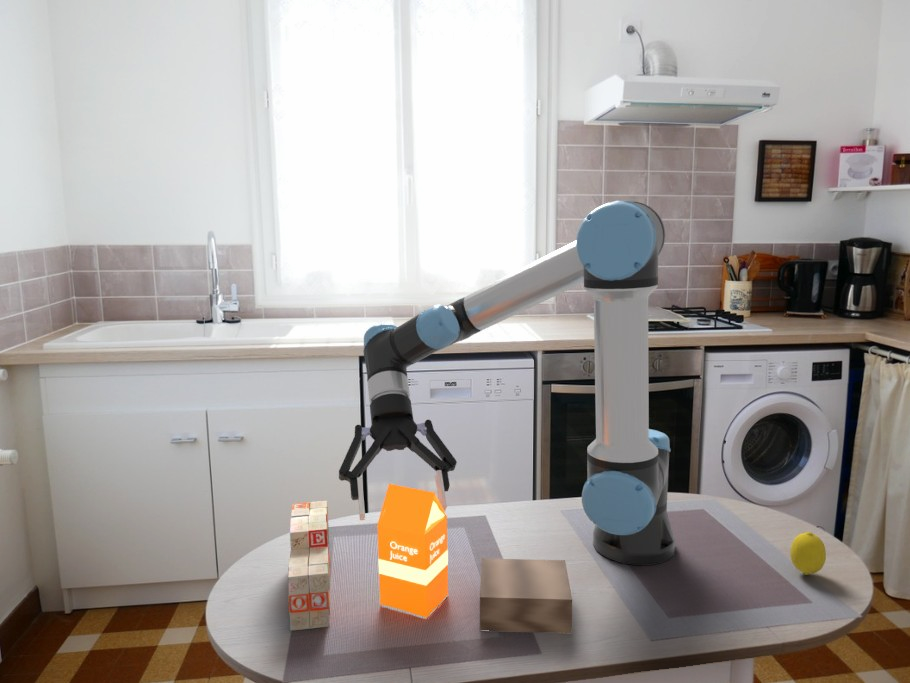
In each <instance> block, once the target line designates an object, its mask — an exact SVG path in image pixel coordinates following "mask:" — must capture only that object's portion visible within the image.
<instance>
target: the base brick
mask: <svg viewBox="0 0 910 683" xmlns="http://www.w3.org/2000/svg"><path fill="white" fill-rule="evenodd" d="M566 562H567V561H566V560H564V559H527V558H525V559H524V558H522V559H521V558H481V563H480V564H481V568H480V585H479V589H480V590H479V631H480V630H489V631H488V632H496V631H497V632H498V633H500V632H501V633H502V632H504V633H505V632H506V633H538V634H539V633H540V634H542V633H543V634H544V633H545V634H572V633H573V632H572V628H573V595H572V590H571V585H570V584H571V583H570V580H569V574H568V569H567V563H566Z"/></svg>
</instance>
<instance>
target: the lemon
mask: <svg viewBox="0 0 910 683" xmlns="http://www.w3.org/2000/svg"><path fill="white" fill-rule="evenodd" d="M789 551H790V552H789V553H790V554H789V555H790V560H791V562H792V564H793V566H794V567H795V568H796V569H797V570H798V571H799V572H802V573H803V574H804V575H805V576H809V575H810V574H815V573H817V572H819V571H822V570H821V569H822V568H823V567H824V566H825V564H826V559H827V553H826V551H827V550H826V547H825V543H824V542H823V540H822V539H821V538H820V537H819V536H818V535H816V534H814V533H813V532H811V531H807V532H803V533H799V534H798V535H796V536H795V537H794V538H793V540H792V542H791V546H790V550H789Z"/></svg>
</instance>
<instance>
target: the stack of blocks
mask: <svg viewBox="0 0 910 683" xmlns="http://www.w3.org/2000/svg"><path fill="white" fill-rule="evenodd" d="M328 509H329V508H328V500H318V501H310V502H309V501H307V502H297V503H292V507H291V514H290V520H289V521H290V523H289V524H290V525H289V529H290V530H289V538H290V539H289V542H290V543H289V544H290V552H289V553H290V556H289V558H288V566H287V567H288V568H287V570H288V576H287V580H288V596H287V597H288V610H289V611H288V612H289V613H288V614H289V626H290V627H289V628H290V631H302V630H310V629H319V628H320V629H321V628H328V627H330V616H331V591H330V588H331V586H330V582H331V580H330V579H331V547H330V534H329V532H330V531H329V513H328V512H329V511H328Z"/></svg>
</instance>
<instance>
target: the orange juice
mask: <svg viewBox="0 0 910 683" xmlns="http://www.w3.org/2000/svg"><path fill="white" fill-rule="evenodd" d="M380 511H381V512H380V515H379V518H378V521H377V524H376V525H377V548H378V550H377V552H378V558H377V560H378V563H377V564H378V578H379V600H380V601H379V604H382V605H386V606H389V607H394V608H397V609H401V610H403V611H407V612H410V613H413V614H416V615H420V616H423V617H428V616H429V615H430V613H431V612H432V611H433V610H434V609H435V608H436V607H437V606H438V605H439V604H440V603H441V601H443V599H444V598H445V597H446V596H447V595H448V596H449V566H448V565H449V548H448V516H447V515H446V513H445V512H444V511H443V509H442V507H441V505H440V503H439V499H438V496H437V495H436V492H435V491H428V490H423V489H418V488H412V487H408V486H403V485H396V484H391V483H389V484H388V485H387V491H386V493H385V496H384V500H383V504H382V507H381V510H380Z"/></svg>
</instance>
